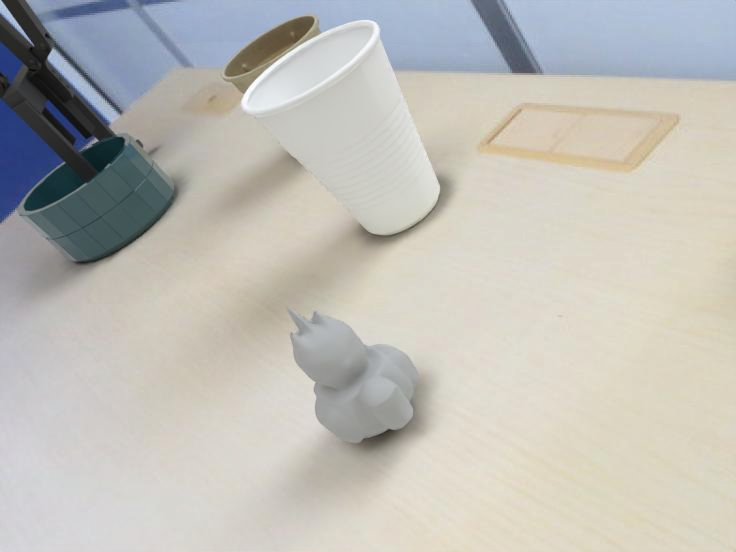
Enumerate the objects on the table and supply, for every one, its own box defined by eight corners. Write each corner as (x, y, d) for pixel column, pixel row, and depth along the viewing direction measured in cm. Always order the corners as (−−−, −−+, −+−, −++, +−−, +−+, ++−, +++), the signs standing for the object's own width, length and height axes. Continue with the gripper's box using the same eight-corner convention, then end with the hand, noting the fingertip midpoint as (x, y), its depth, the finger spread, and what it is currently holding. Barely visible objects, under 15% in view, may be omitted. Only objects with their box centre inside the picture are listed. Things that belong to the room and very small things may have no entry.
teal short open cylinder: (50, 274, 74) (-7, 225, 70) (121, 197, 81) (73, 148, 76) (131, 255, 69) (75, 201, 65) (199, 174, 76) (153, 121, 71)
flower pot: (351, 157, 64) (284, 59, 58) (271, 178, 68) (200, 88, 61) (392, 97, 69) (334, 1, 63) (315, 120, 73) (254, 32, 67)
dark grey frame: (108, 166, 86) (12, 66, 77) (145, 143, 86) (53, 41, 77) (92, 239, 72) (-27, 127, 64) (136, 212, 72) (23, 97, 64)
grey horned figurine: (397, 366, 42) (307, 257, 36) (463, 404, 38) (373, 287, 32) (327, 435, 41) (221, 332, 35) (388, 482, 37) (279, 374, 31)
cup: (401, 168, 59) (312, 28, 51) (491, 166, 53) (407, 9, 45) (321, 253, 55) (211, 116, 47) (410, 261, 49) (302, 107, 41)
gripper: (-273, -71, 57) (14, 189, 74) (-108, -170, 57) (140, 113, 74) (-234, -83, 62) (25, 163, 79) (-83, -174, 62) (143, 91, 79)
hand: (80, 138), depth 76 cm, fingers closed on dark grey frame, 2 cm apart
